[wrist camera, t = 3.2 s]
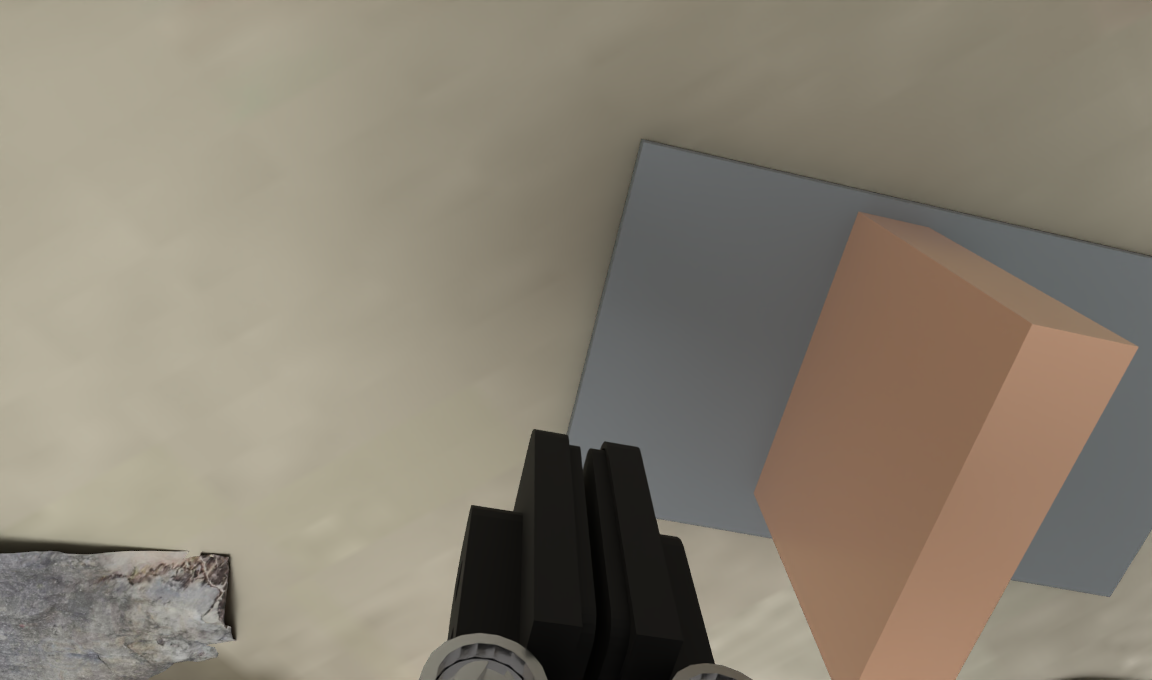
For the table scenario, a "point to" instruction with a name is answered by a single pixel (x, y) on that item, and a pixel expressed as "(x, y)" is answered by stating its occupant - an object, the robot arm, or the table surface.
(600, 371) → the mat
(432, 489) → the table surface
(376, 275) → the table surface
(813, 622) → the tile
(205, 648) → the stone slab
